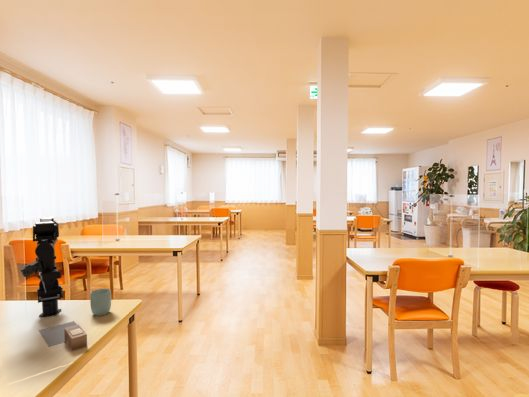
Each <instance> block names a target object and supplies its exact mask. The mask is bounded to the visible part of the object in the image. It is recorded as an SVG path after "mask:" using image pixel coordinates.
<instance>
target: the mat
mask: <svg viewBox="0 0 529 397" xmlns="http://www.w3.org/2000/svg"><path fill="white" fill-rule="evenodd" d="M74 325H78V324H77V323H76V321H74V320H72V321H69V322H64V323H62V324H57V325H54V326H49V327H45V328H43V329H39V330H38V332H39V334H40V335H41V337H42V338H43V339H44V342H45V343H46V345H47V346H48V348H51V347H53V346H57V345H60V344H62V343H66V342H65V337H64V328H67V327H70V326H74Z"/></svg>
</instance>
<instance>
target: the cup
mask: <svg viewBox="0 0 529 397" xmlns="http://www.w3.org/2000/svg"><path fill="white" fill-rule="evenodd" d="M111 291H112V289H110V288H97V289H94V290H91V291H90V293H89V294H90V295H89V300H90V302H89V304H90V310H91V313H92V315H93V316H96V317H101V316H105V315H108V314H109V312H111V308H112V292H111Z"/></svg>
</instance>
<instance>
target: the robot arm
mask: <svg viewBox="0 0 529 397" xmlns="http://www.w3.org/2000/svg"><path fill="white" fill-rule="evenodd" d="M54 218H55V217H53V216H45V217H40V218H39V222H38V221H37V222H35V224H34V225H33V226H32V242H36V247H35V250H34V253H35V256H36V257H35V260H34V261H32V262H30V263H27V264H25V265H23V266H20V267H19V268H18V269H19V271H20V274H21V275H22V276H23V277H24V278H26V277H29V276H30V275H32V274H37V272H38V275H36V277H37V278H38V279H39V284H38V288H37V290H36V291H37V292H36V295H37V303H38V304H40V303H41V306H42V307H41V309H42V312H41V313H40V314H39V315H38V317H40V318H42V317H52V316H57V315H58V314H59V313H60V312H61V311H62V308H59V302H58V301H59V300H62V299H63V298H64V292H63V291H64V290H63V287H62V285H61V284H59V282H60V281H59V280H58V279H62V272H61V271H59V270H58V269H57V268H58V266H56V259H57V255H56V254H55V253H56V251H55V247H56V246H55V245H56V243H57V242H58V238H60V237H59V236H60V227H59V226H60V224H59V223H58V222H57V221H56V220H55V219H54Z"/></svg>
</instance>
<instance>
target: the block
mask: <svg viewBox="0 0 529 397" xmlns="http://www.w3.org/2000/svg"><path fill="white" fill-rule="evenodd" d="M64 337H65V342H64V343H65V344H66V345H67V346H68V347H69V349H70V350H71V351H72V352H73V351H76V350H79V349H82V348H86V347H88V334H87V333H86V331H85V330H84V328H83V327H81V325H80V324H77V325H74V326H70V327H67V328H64Z"/></svg>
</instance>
